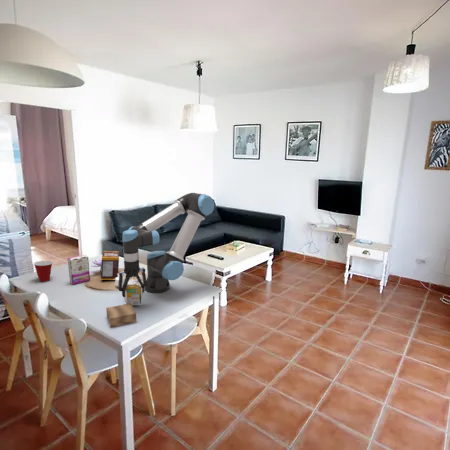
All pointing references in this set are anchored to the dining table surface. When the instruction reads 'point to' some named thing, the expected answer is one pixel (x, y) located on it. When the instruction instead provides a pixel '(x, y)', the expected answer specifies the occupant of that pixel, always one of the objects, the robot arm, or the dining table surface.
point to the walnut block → (121, 315)
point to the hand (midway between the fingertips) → (133, 300)
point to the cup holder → (130, 282)
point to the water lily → (97, 263)
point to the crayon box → (133, 294)
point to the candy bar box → (78, 269)
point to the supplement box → (110, 265)
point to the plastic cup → (43, 270)
